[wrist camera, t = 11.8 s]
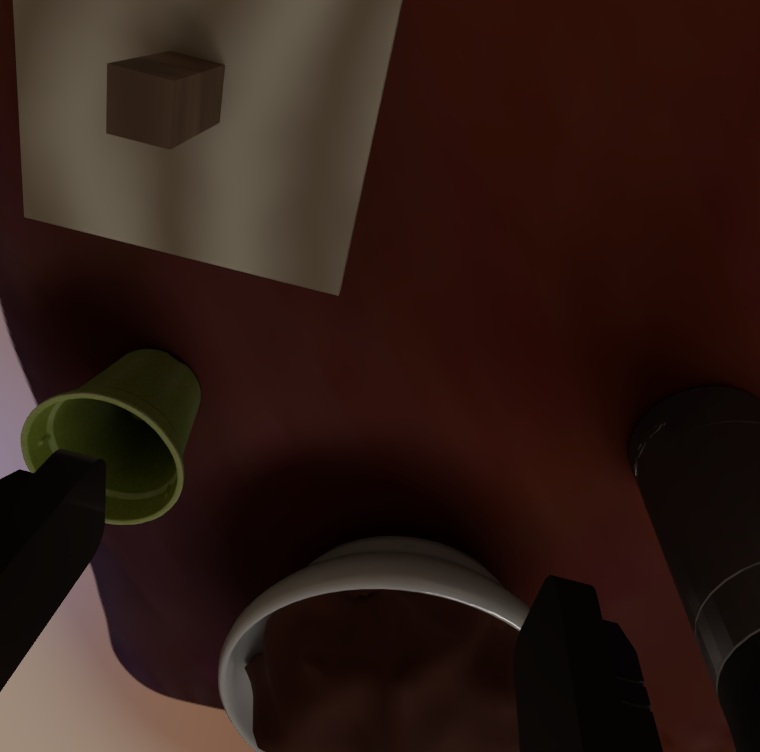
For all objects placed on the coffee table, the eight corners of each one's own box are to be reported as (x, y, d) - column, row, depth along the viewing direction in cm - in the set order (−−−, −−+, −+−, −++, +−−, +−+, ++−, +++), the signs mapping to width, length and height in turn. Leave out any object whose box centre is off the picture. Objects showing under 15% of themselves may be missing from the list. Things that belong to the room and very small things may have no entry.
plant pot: (202, 316, 42) (148, 385, 35) (242, 436, 47) (202, 520, 39) (70, 333, 44) (-8, 402, 36) (121, 447, 48) (61, 530, 41)
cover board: (419, -80, 26) (410, -101, 20) (340, 289, 34) (317, 351, 28) (14, -189, 25) (-118, -245, 19) (33, 212, 33) (-57, 258, 27)
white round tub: (535, 711, 59) (558, 913, 46) (260, 682, 61) (208, 869, 48) (587, 495, 46) (639, 690, 33) (239, 466, 48) (160, 640, 35)
